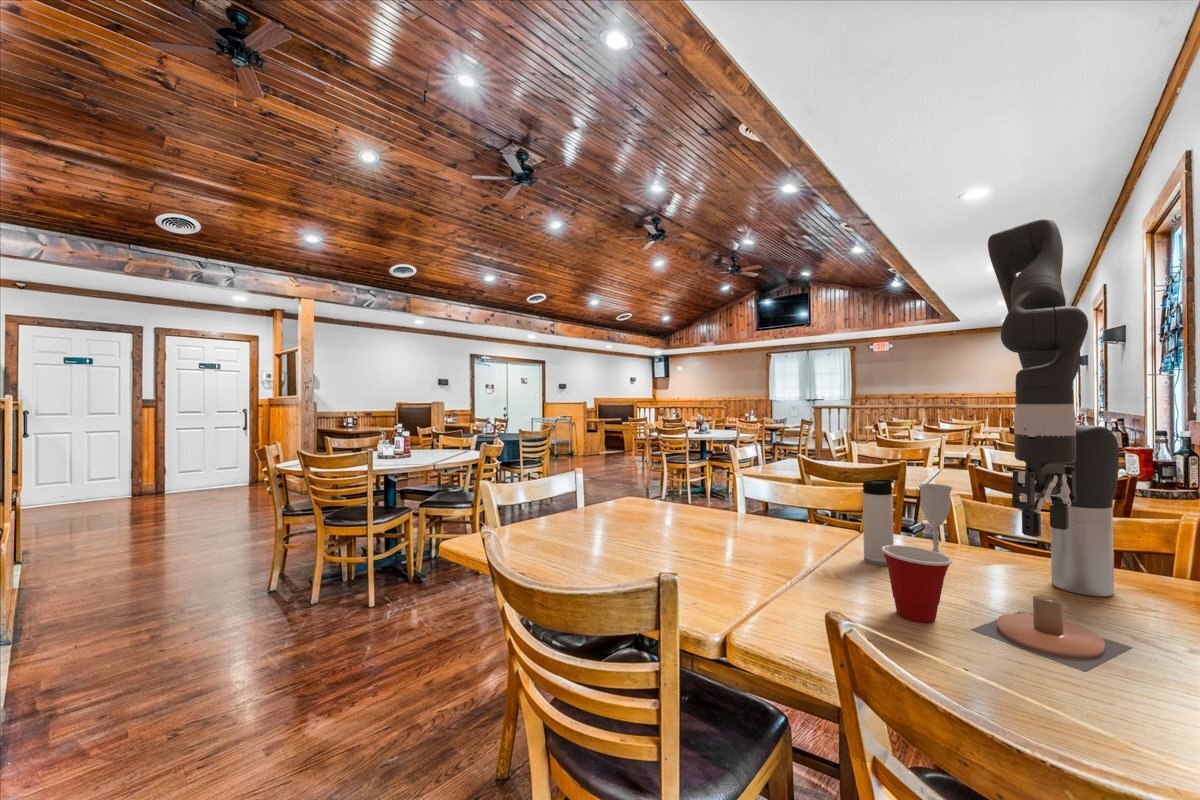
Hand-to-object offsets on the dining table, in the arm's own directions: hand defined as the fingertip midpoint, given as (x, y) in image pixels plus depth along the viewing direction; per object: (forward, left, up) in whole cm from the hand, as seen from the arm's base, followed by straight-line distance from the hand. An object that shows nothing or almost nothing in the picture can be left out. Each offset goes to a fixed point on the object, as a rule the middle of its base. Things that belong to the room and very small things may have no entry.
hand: (1045, 532), depth 82 cm
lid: (0, 0, -17) cm, 17 cm away
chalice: (-24, -32, -18) cm, 44 cm away
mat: (0, 0, -18) cm, 18 cm away
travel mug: (-12, -38, -18) cm, 43 cm away
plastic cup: (+10, -15, -18) cm, 25 cm away
